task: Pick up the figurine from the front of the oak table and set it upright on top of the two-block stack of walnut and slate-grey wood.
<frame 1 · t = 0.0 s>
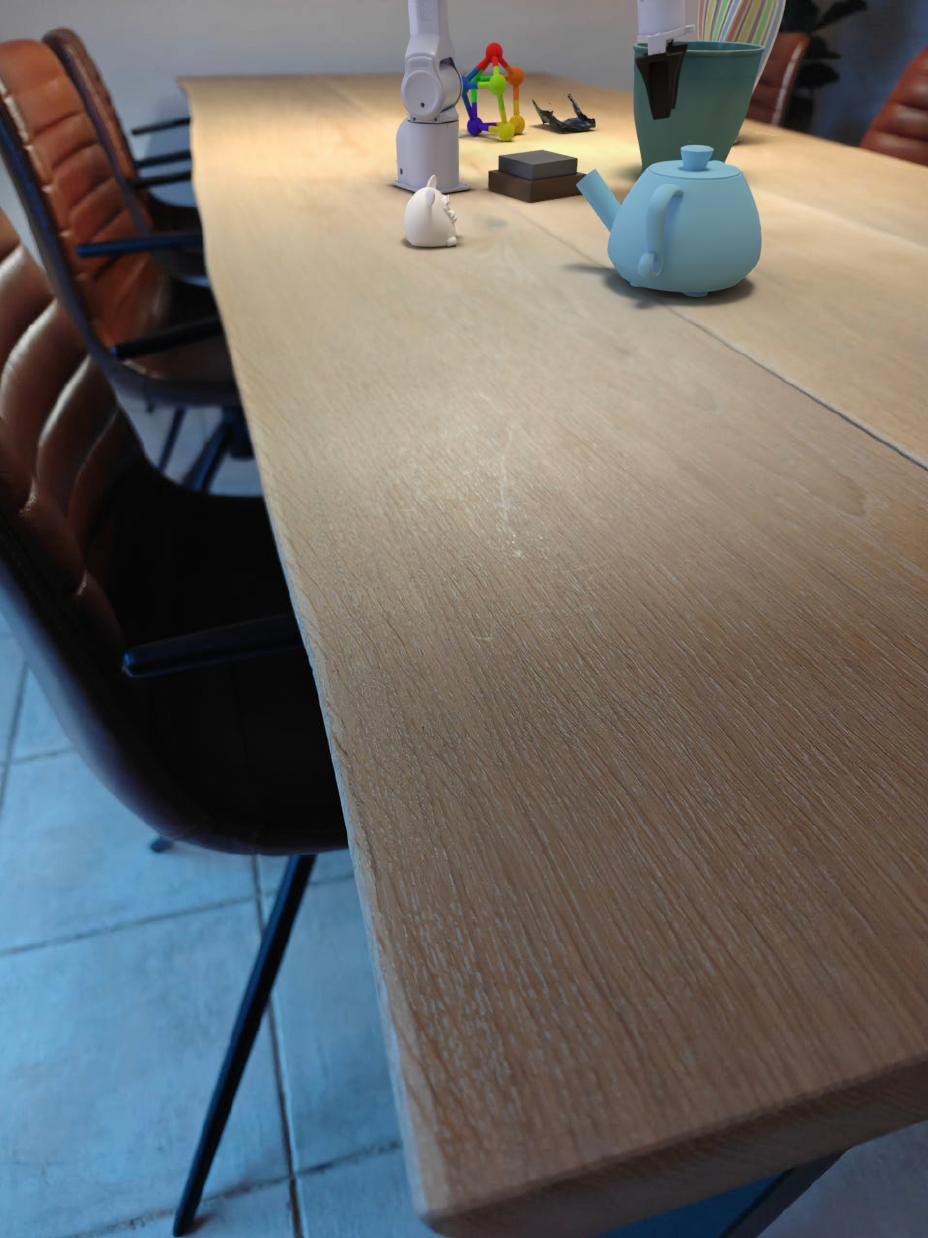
hand: (664, 114, 114), 11 cm above the table, tool pointing down, fingers open, 7 cm apart
teapot: (657, 279, 93), on the table
educational toy: (488, 137, 162), on the table
flower pot: (680, 178, 134), on the table
figurine: (430, 243, 105), on the table
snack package: (563, 129, 169), on the table
stack: (536, 191, 126), on the table
vase: (719, 143, 157), on the table
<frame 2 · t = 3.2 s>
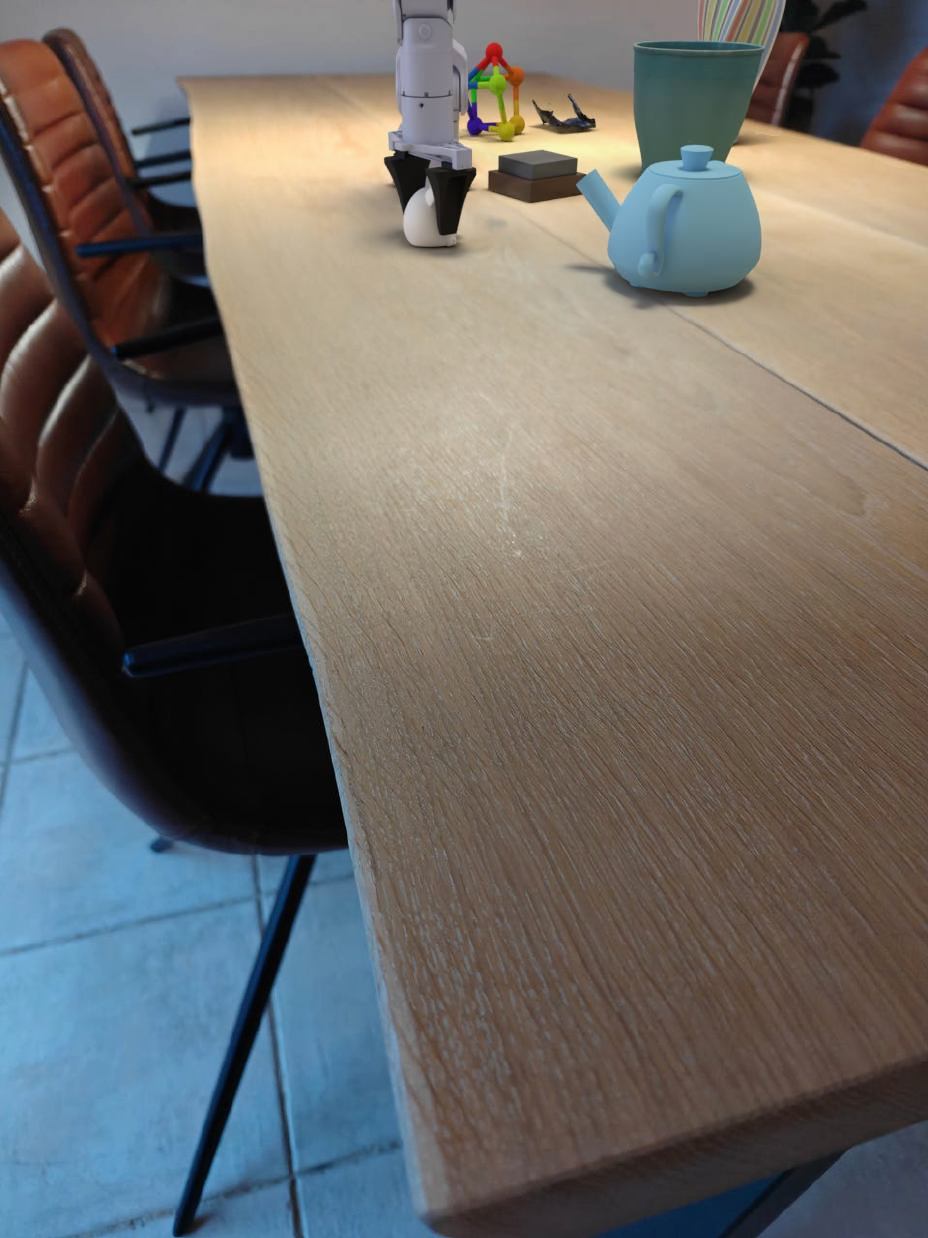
hand: (430, 227, 104), 2 cm above the table, tool pointing down, fingers closed on figurine, 7 cm apart
figurine: (430, 243, 105), on the table, touching gripper
everything else where it was.
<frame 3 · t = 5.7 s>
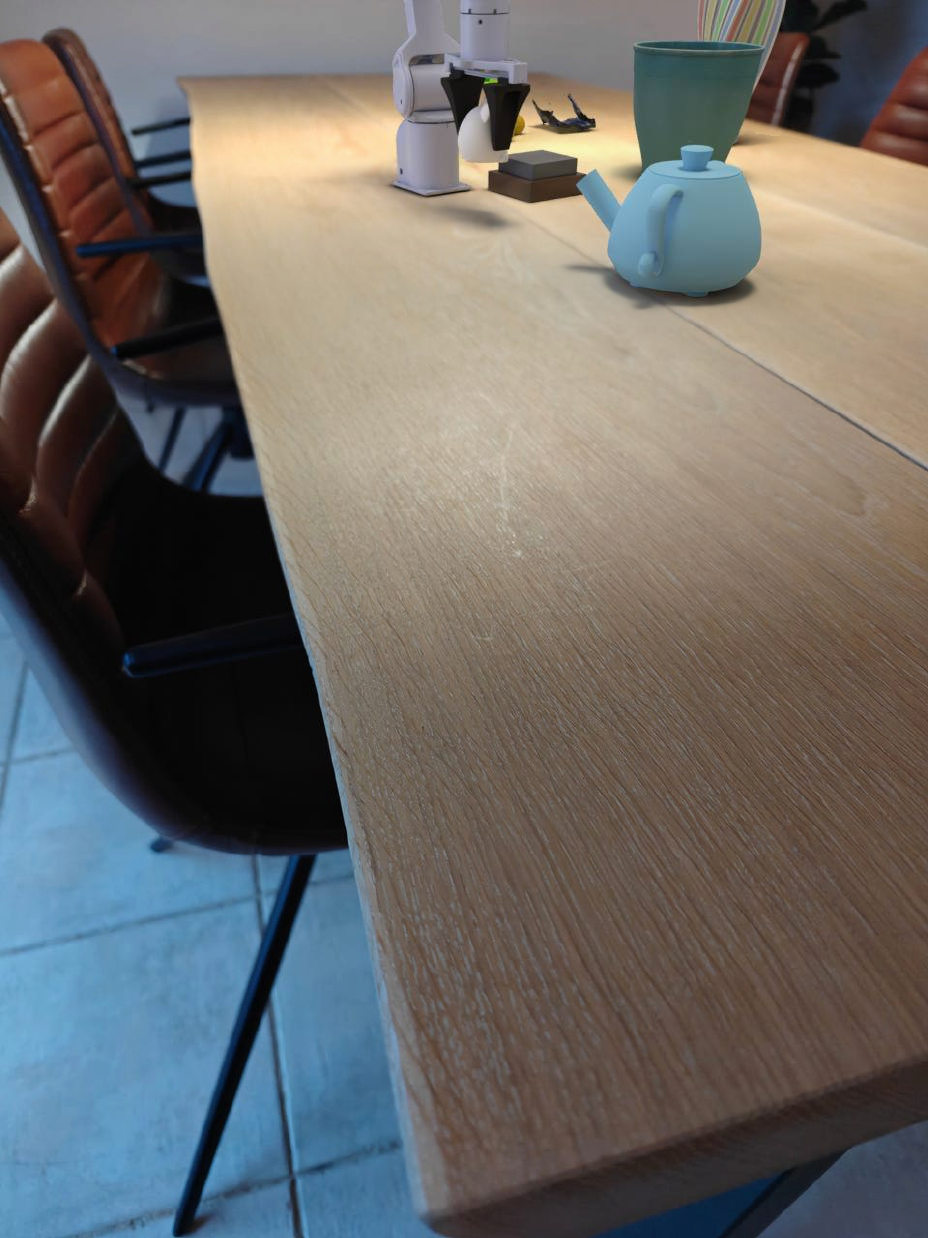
hand: (483, 145, 109), 8 cm above the table, tool pointing down, fingers closed on figurine, 7 cm apart
figurine: (483, 161, 110), point 7 cm above the table, touching gripper
everything else where it was.
when the fingers open (6 cm above the table, at t = 8.3 s): figurine stays where it is, resting on stack.
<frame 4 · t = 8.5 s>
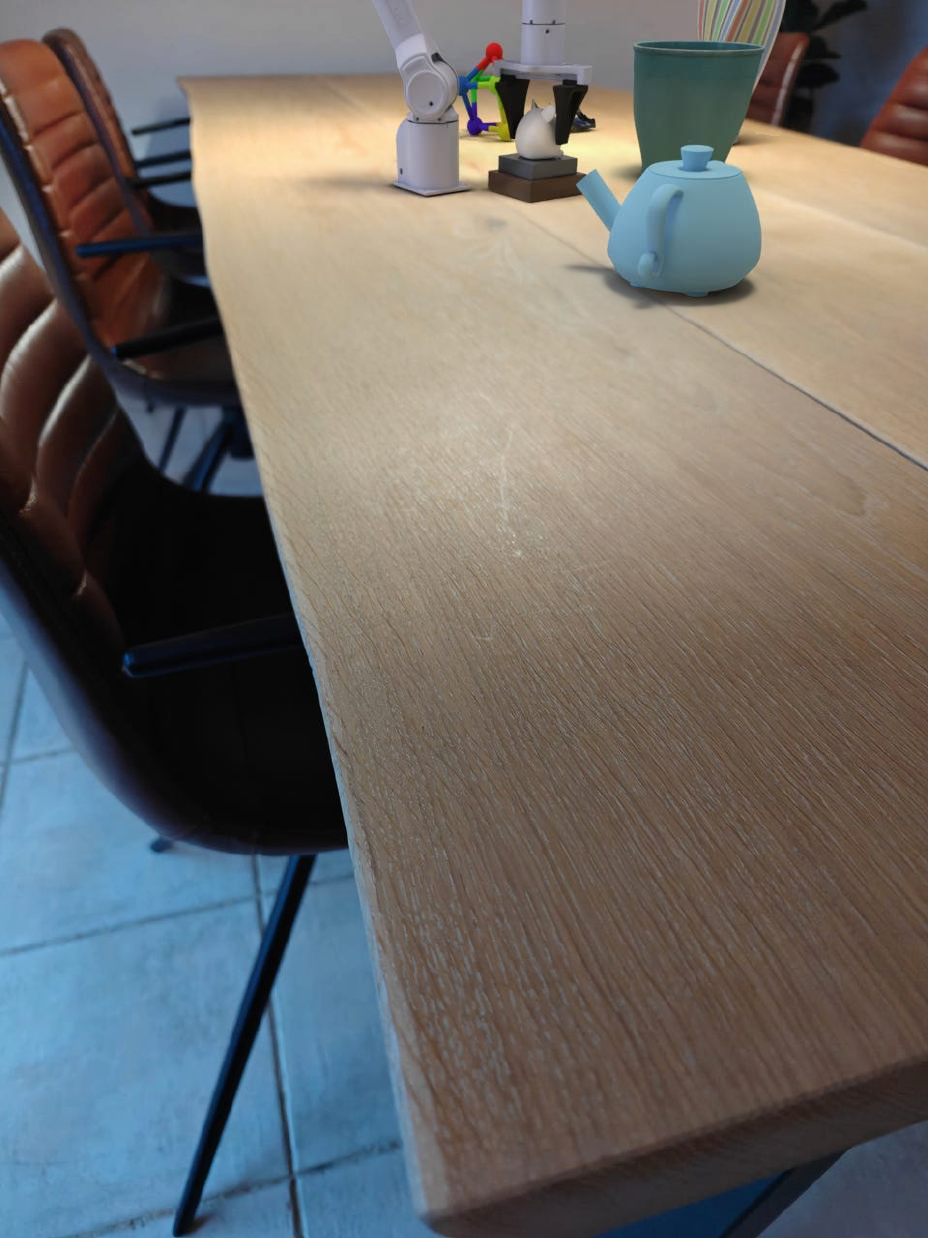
hand: (538, 140, 122), 6 cm above the table, tool pointing down, fingers open, 7 cm apart
figurine: (538, 157, 123), point 4 cm above the table, touching gripper, stack
everything else where it was.
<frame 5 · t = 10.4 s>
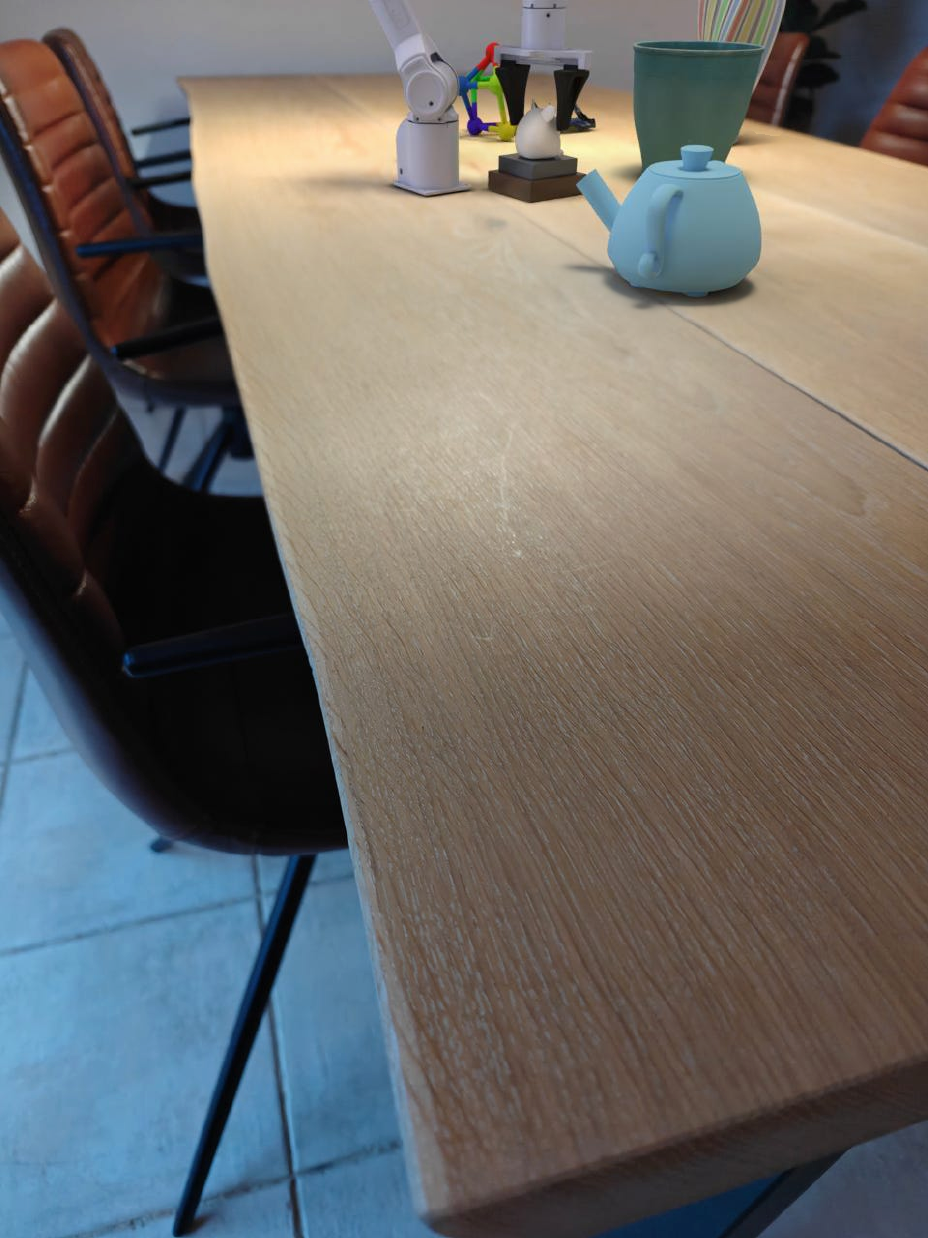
hand: (539, 127, 121), 8 cm above the table, tool pointing down, fingers open, 7 cm apart
nothing on the table moved.
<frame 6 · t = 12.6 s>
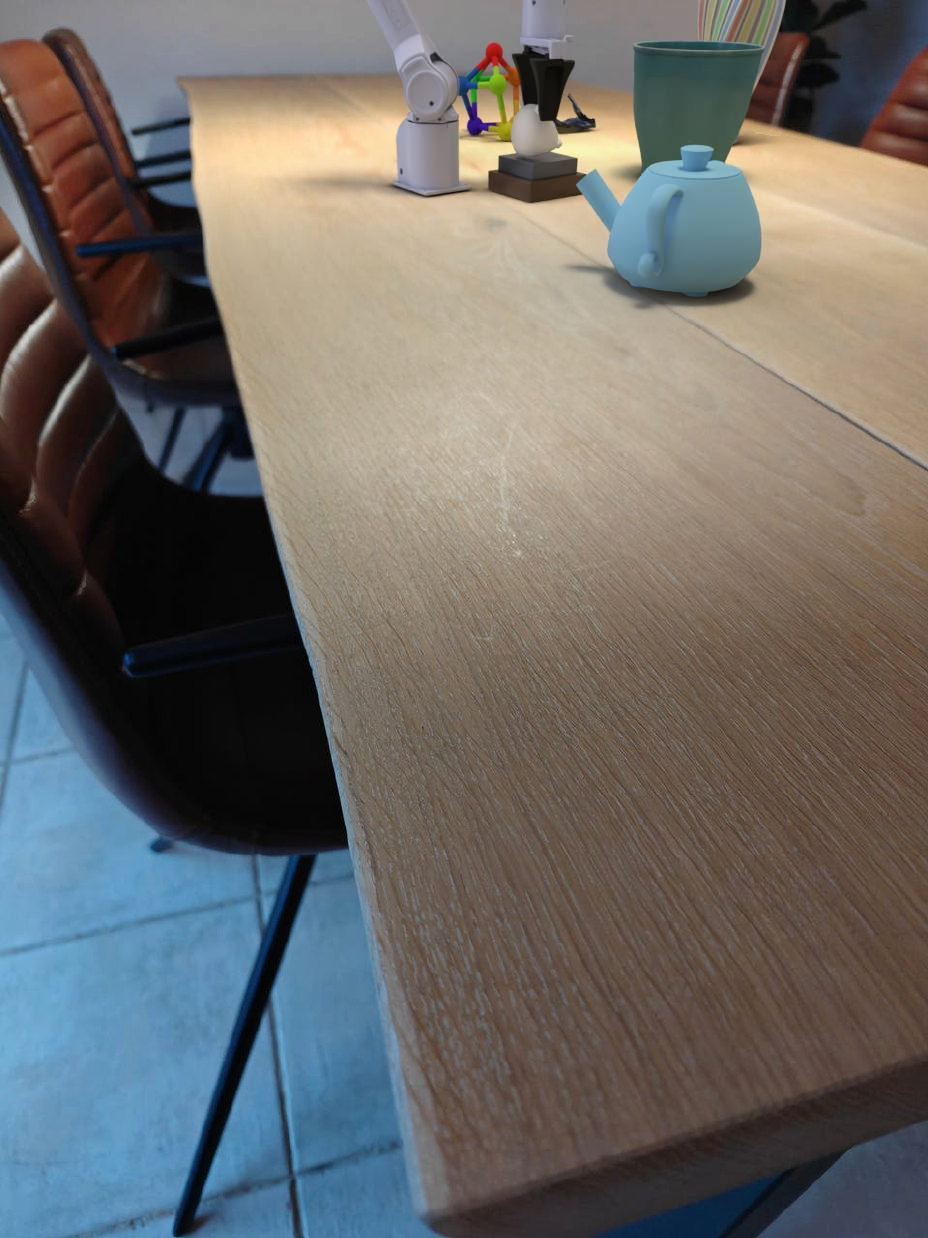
hand: (539, 116, 120), 9 cm above the table, tool pointing down
figurine: (537, 152, 123), point 5 cm above the table, touching gripper, stack
everything else where it was.
when the fingers open (10 cm above the table, at t = 13.0 s): figurine stays where it is, resting on stack.
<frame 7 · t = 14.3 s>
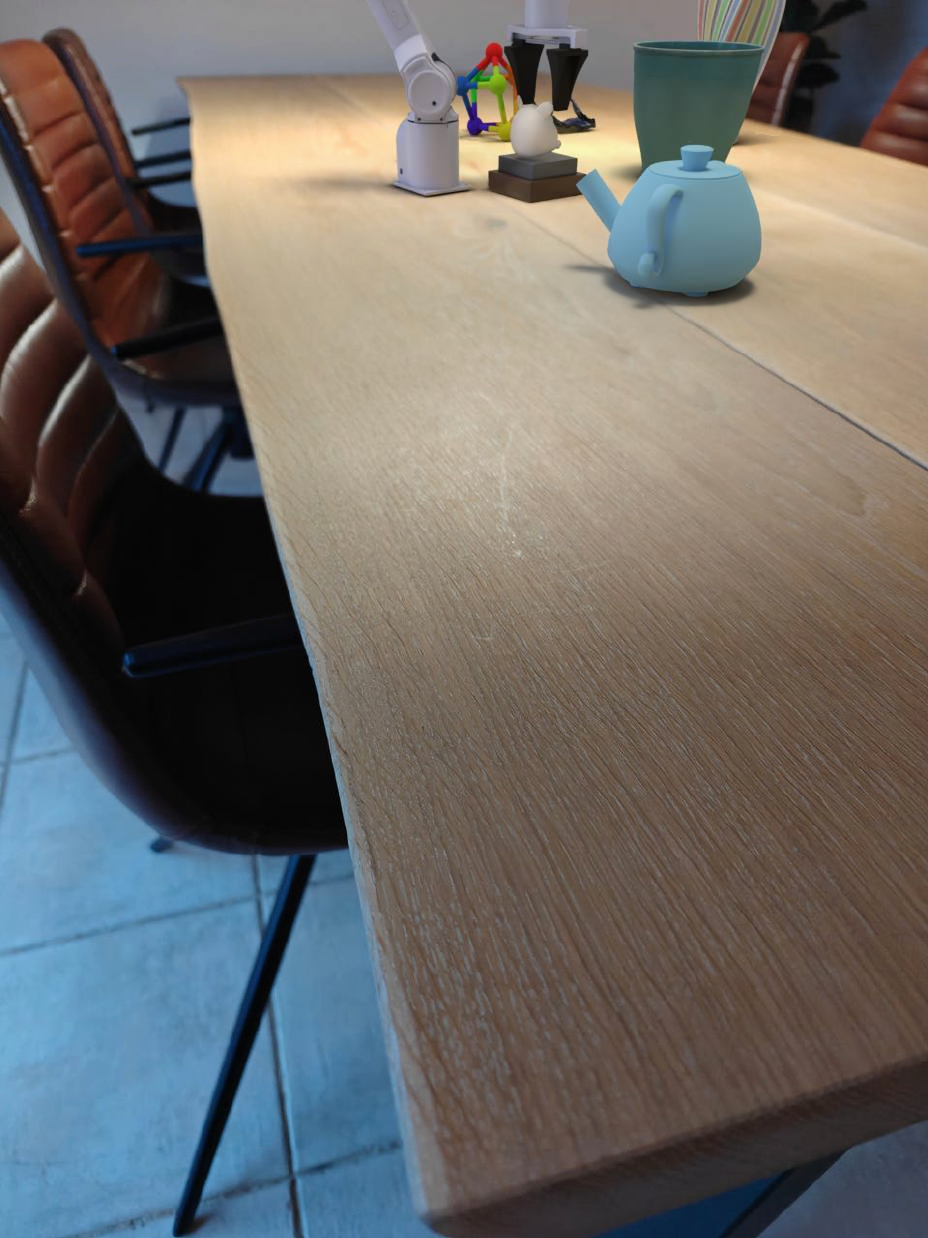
hand: (543, 107, 120), 10 cm above the table, tool pointing down, fingers open, 7 cm apart
figurine: (536, 152, 123), point 5 cm above the table, touching gripper, stack
everything else where it was.
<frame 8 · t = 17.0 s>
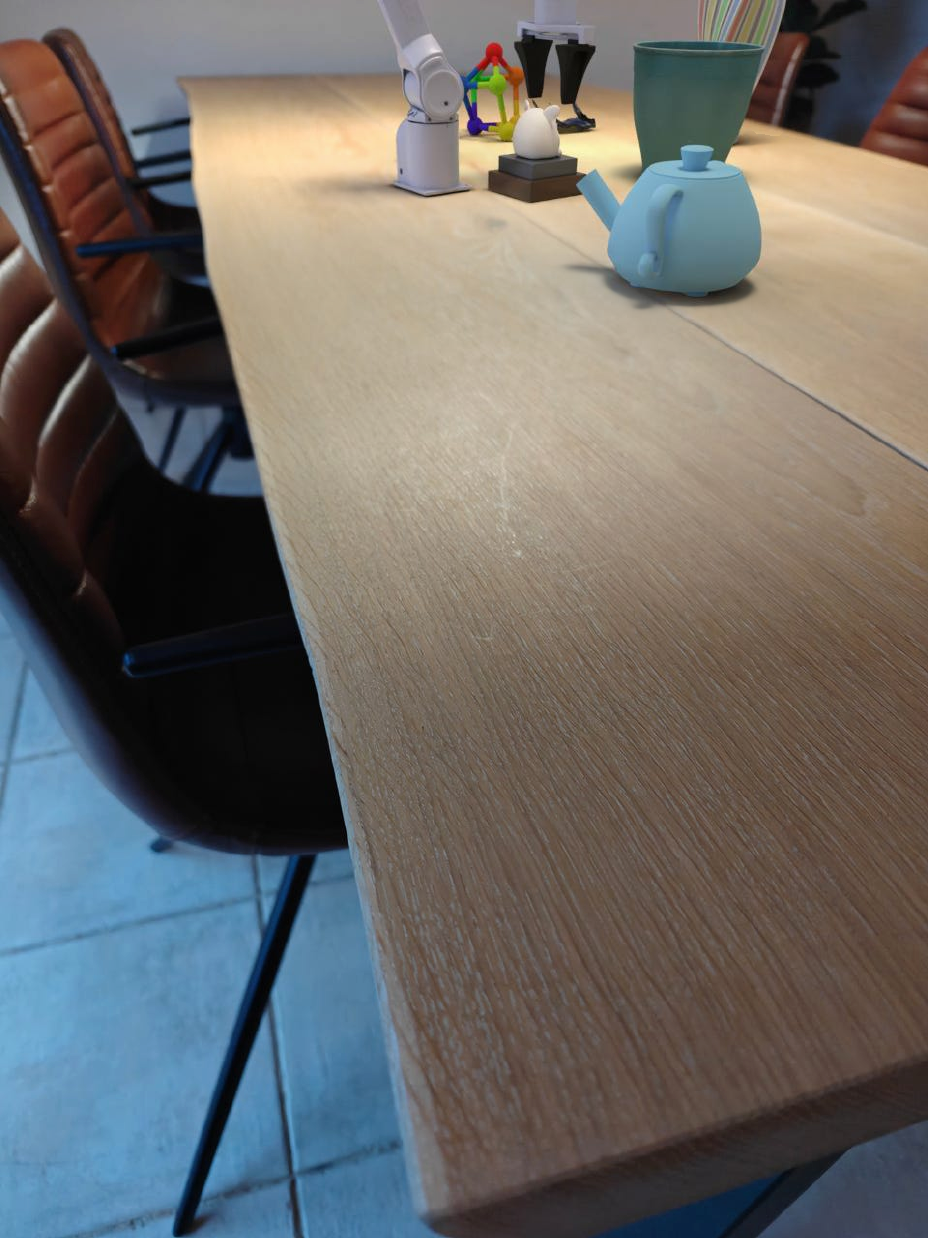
hand: (551, 100, 126), 10 cm above the table, tool pointing down, fingers open, 7 cm apart
figurine: (535, 157, 124), point 4 cm above the table, touching stack
everything else where it was.
at the end: figurine 0.5 cm off-centre on the stack, point 4.3 cm above the stack's base; figurine tilted 0°; the gripper is holding nothing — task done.
